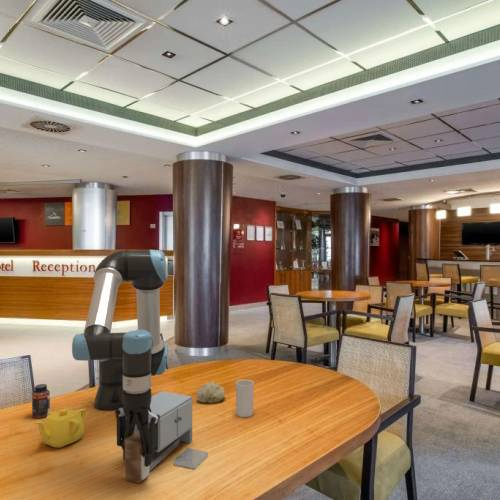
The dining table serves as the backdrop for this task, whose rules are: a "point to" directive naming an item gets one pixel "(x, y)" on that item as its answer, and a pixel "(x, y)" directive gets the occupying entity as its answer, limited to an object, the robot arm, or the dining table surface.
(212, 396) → the decorative item
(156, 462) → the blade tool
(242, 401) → the mug
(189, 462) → the plate
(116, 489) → the dining table surface
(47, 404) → the supplement bottle
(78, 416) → the teapot
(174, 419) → the low cabinet
